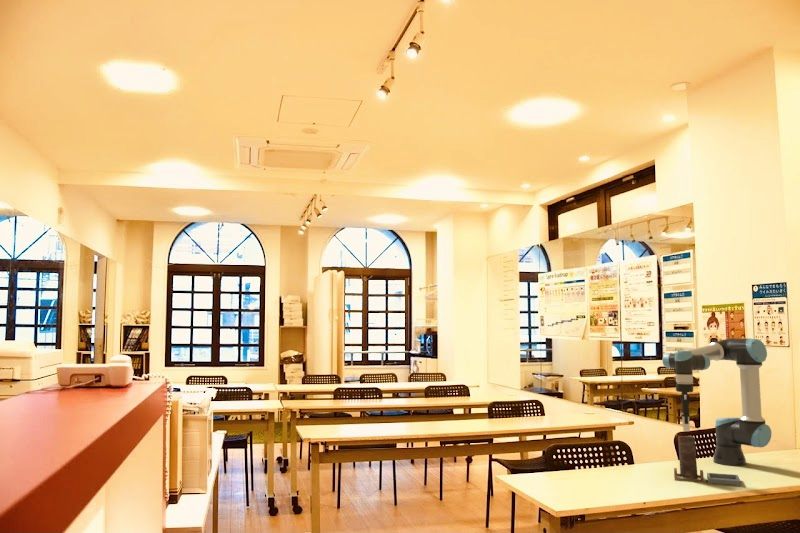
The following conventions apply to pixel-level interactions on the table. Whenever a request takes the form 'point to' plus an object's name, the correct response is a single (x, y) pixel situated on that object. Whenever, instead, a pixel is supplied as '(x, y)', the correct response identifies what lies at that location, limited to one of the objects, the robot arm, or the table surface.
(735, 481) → the tray
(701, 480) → the cradle
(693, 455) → the dark brown tall block
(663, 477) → the table surface
